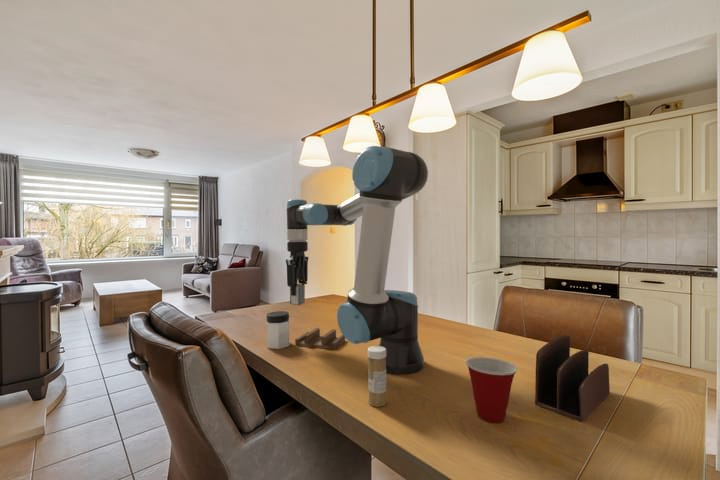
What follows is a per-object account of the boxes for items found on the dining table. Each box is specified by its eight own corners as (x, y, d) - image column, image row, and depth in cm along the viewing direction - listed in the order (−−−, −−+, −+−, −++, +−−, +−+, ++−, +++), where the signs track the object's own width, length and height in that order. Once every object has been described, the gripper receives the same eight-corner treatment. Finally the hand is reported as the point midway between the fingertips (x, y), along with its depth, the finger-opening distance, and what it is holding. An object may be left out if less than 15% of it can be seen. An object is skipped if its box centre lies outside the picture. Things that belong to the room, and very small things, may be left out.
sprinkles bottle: (367, 398, 85) (366, 345, 84) (385, 397, 85) (384, 344, 85) (369, 408, 80) (368, 351, 80) (388, 407, 80) (387, 351, 80)
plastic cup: (524, 414, 76) (524, 361, 76) (508, 436, 68) (507, 377, 68) (477, 398, 84) (477, 350, 83) (457, 417, 76) (457, 364, 75)
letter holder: (534, 405, 80) (534, 347, 80) (566, 381, 93) (566, 330, 93) (582, 423, 73) (582, 358, 72) (610, 394, 85) (610, 338, 85)
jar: (273, 351, 120) (272, 317, 120) (262, 345, 126) (261, 313, 126) (294, 345, 126) (294, 313, 126) (283, 340, 132) (282, 309, 132)
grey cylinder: (304, 302, 130) (304, 283, 129) (299, 305, 126) (299, 284, 125) (295, 301, 131) (295, 282, 130) (290, 304, 127) (290, 284, 127)
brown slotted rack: (345, 340, 130) (344, 330, 130) (334, 349, 121) (334, 338, 121) (307, 337, 136) (307, 327, 135) (295, 345, 126) (295, 334, 126)
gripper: (299, 240, 137) (300, 297, 137) (276, 241, 120) (277, 306, 121) (316, 240, 134) (316, 298, 135) (295, 242, 118) (295, 308, 119)
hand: (298, 302), depth 128 cm, fingers closed on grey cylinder, 4 cm apart
